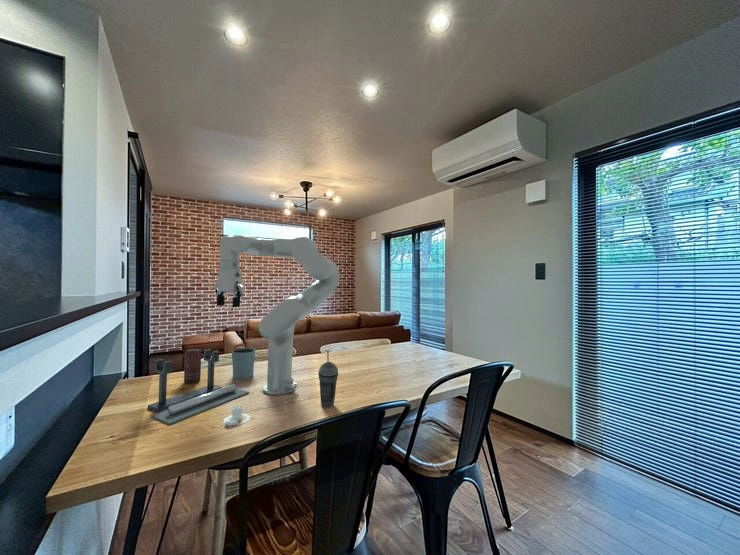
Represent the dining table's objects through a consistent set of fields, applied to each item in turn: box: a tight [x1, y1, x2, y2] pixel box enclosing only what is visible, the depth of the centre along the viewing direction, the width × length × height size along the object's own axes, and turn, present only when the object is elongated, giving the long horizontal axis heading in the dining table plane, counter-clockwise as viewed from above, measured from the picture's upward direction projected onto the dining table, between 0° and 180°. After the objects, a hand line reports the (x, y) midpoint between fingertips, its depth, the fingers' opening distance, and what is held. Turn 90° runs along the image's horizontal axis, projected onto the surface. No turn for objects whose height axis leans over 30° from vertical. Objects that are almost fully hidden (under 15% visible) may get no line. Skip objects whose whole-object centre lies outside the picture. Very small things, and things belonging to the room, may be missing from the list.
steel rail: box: [167, 383, 238, 416], centre depth 108 cm, size 24×3×3 cm, turn 153°
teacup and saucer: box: [223, 405, 251, 426], centre depth 96 cm, size 9×8×4 cm
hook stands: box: [147, 348, 223, 413], centre depth 112 cm, size 6×24×16 cm, turn 153°
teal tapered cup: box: [231, 347, 256, 380], centre depth 139 cm, size 10×10×12 cm
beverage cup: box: [317, 349, 339, 409], centre depth 109 cm, size 7×7×20 cm
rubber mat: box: [150, 388, 250, 426], centre depth 107 cm, size 10×30×1 cm, turn 153°
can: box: [183, 347, 202, 385], centre depth 130 cm, size 6×6×14 cm
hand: (228, 306), depth 127 cm, fingers open, 9 cm apart
